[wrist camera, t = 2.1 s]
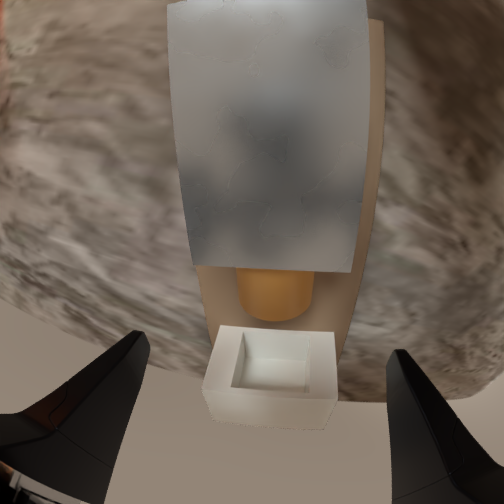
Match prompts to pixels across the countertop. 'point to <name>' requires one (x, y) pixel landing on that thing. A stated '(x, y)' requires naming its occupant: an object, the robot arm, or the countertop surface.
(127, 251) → the countertop surface
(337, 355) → the walnut board
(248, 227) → the steel sleeve
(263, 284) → the orange tube
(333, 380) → the white socket
